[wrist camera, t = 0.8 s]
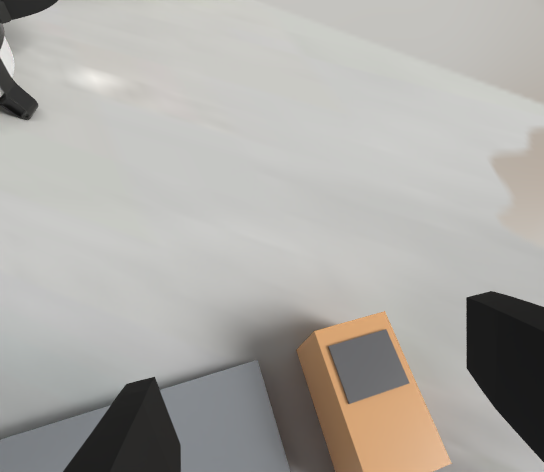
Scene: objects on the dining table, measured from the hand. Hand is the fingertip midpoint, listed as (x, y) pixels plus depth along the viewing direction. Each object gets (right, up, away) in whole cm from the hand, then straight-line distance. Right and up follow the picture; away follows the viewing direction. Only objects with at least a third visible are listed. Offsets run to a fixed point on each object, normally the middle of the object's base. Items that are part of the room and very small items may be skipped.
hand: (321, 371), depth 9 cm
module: (+4, -8, +16) cm, 18 cm away
